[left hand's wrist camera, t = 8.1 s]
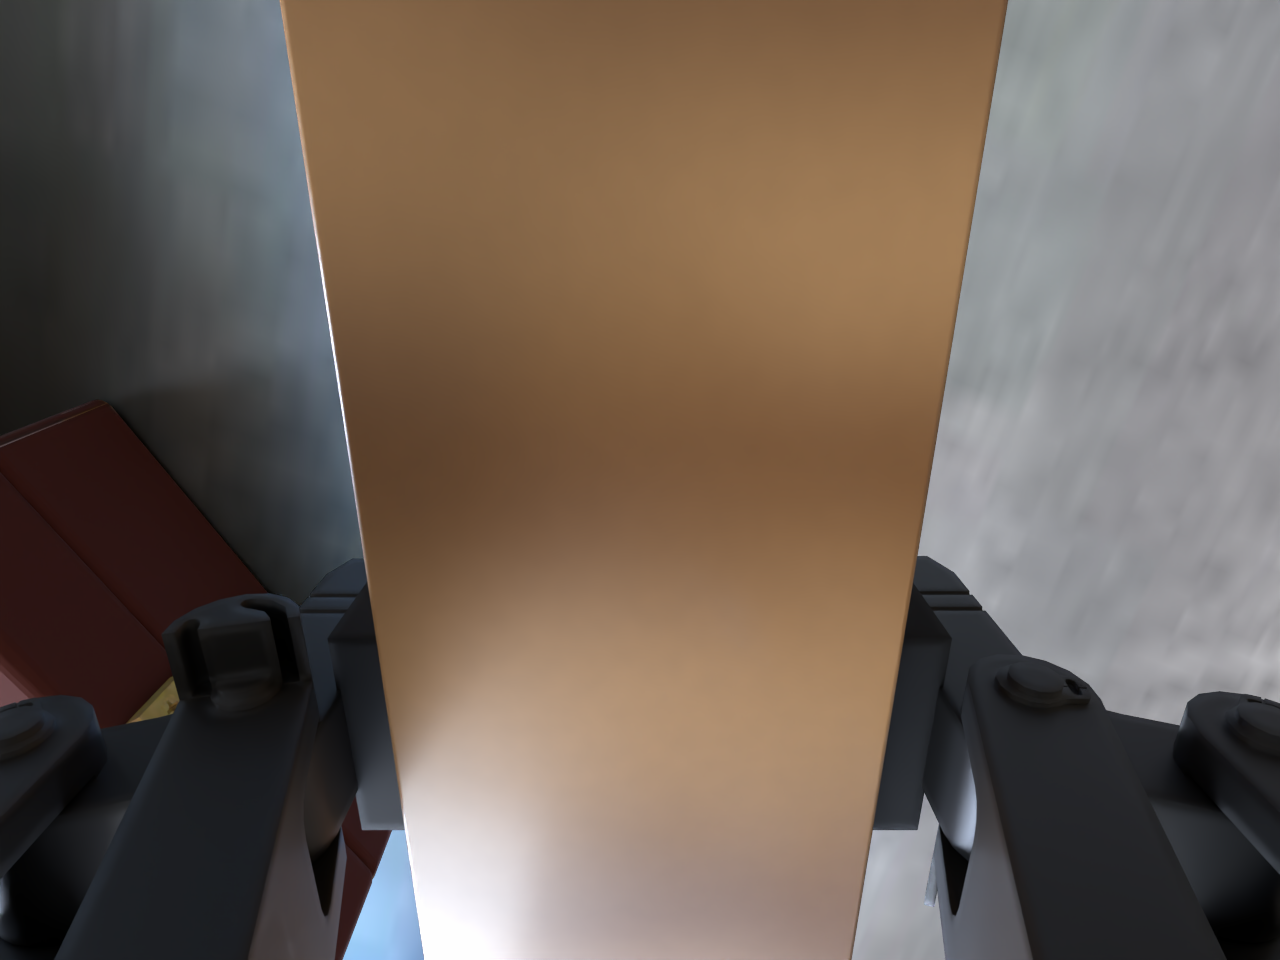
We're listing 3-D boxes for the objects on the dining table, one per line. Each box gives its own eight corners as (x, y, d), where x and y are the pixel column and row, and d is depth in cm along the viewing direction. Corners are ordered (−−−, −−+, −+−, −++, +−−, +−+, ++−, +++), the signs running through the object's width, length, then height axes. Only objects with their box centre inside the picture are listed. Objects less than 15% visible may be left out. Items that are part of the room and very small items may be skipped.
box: (444, 760, 35) (372, 971, 25) (174, 884, 37) (20, 1114, 28) (130, 376, 28) (-126, 472, 18) (-171, 563, 31) (-523, 726, 21)
